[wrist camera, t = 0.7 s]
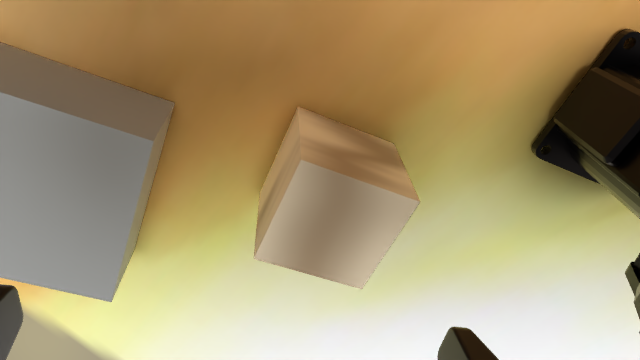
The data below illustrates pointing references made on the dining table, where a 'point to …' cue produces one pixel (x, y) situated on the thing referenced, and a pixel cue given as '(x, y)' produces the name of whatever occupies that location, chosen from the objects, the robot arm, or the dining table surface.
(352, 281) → the birch cube
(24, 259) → the slate block
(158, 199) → the dining table surface
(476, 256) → the dining table surface
